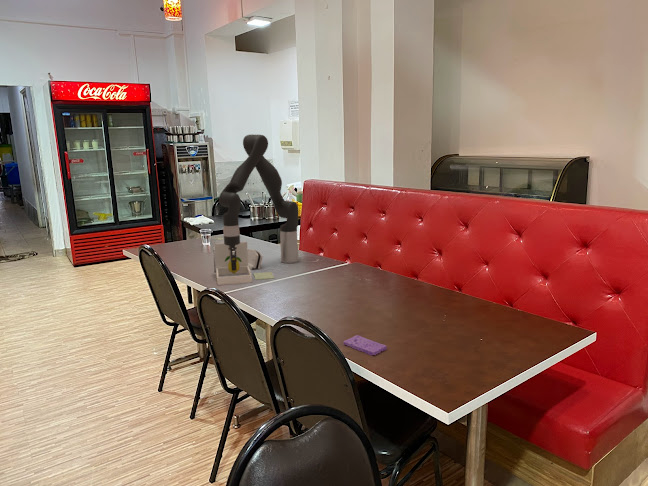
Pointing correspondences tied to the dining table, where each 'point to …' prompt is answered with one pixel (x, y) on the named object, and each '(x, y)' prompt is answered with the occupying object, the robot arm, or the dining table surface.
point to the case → (222, 265)
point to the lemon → (236, 264)
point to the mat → (263, 275)
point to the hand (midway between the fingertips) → (233, 268)
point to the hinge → (254, 259)
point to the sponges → (365, 345)
